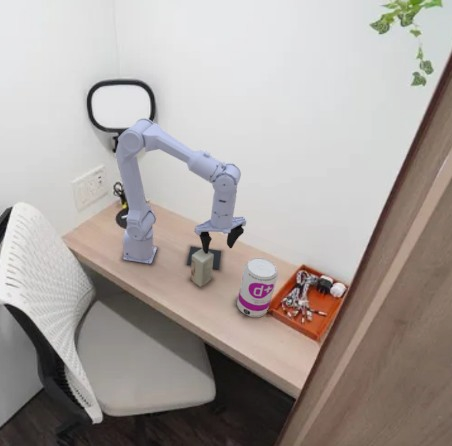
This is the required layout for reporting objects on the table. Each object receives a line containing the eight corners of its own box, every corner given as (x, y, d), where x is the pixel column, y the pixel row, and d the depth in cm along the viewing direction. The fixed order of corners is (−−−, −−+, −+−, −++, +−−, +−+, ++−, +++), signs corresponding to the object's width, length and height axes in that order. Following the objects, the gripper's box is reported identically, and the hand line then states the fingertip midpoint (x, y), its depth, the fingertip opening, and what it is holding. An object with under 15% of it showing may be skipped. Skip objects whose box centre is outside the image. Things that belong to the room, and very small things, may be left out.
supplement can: (268, 320, 89) (281, 280, 80) (236, 316, 90) (245, 276, 81) (266, 297, 95) (277, 258, 86) (236, 293, 96) (244, 254, 88)
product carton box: (200, 271, 104) (203, 246, 98) (211, 279, 101) (215, 254, 95) (189, 279, 101) (191, 254, 95) (199, 287, 99) (202, 262, 93)
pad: (186, 264, 107) (186, 264, 106) (190, 246, 114) (191, 246, 114) (218, 269, 104) (218, 269, 104) (220, 251, 111) (221, 250, 111)
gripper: (203, 222, 84) (199, 262, 92) (255, 213, 87) (247, 252, 95) (192, 208, 90) (190, 247, 98) (241, 199, 93) (235, 237, 101)
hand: (217, 248), depth 97 cm, fingers open, 7 cm apart
